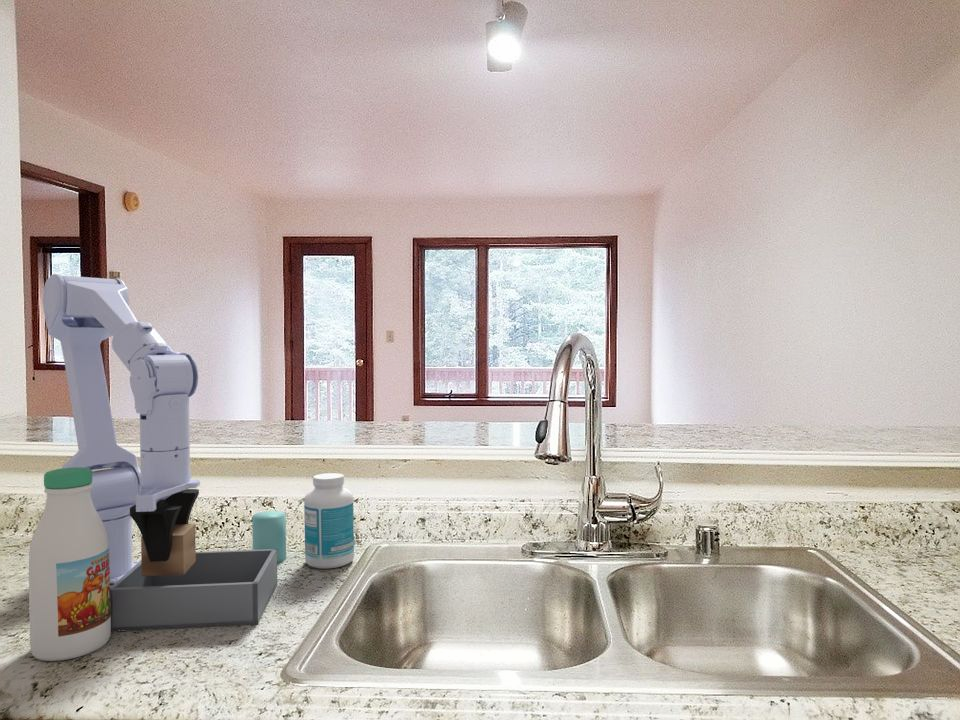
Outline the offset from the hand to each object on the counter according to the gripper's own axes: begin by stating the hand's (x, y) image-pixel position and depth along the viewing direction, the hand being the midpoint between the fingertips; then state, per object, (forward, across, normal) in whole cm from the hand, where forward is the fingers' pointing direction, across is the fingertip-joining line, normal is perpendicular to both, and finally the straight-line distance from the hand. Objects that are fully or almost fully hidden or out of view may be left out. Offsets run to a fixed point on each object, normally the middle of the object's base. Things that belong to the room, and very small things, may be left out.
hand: (166, 553), depth 85 cm
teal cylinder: (+7, +18, -10) cm, 21 cm away
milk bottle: (+7, -10, +7) cm, 14 cm away
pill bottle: (+7, +15, -19) cm, 25 cm away
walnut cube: (+2, 0, 0) cm, 2 cm away
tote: (+7, 0, -4) cm, 8 cm away
